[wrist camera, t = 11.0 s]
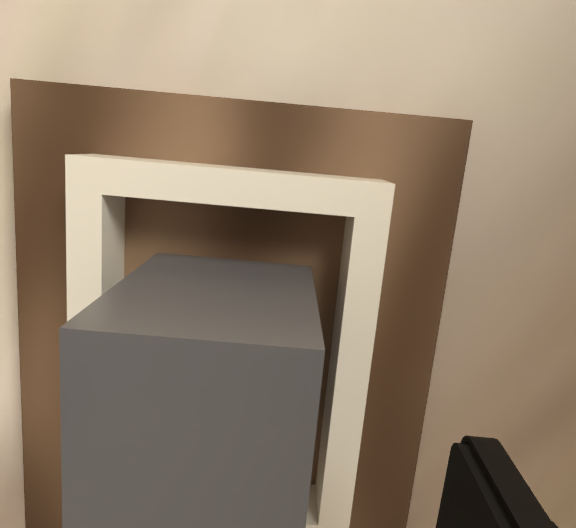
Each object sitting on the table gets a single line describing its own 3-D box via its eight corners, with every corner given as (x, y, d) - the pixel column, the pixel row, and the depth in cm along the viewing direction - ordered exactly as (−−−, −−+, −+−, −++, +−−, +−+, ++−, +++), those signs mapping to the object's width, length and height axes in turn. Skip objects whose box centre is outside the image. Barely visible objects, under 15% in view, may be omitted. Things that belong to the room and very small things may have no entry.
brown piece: (461, 122, 16) (499, 116, 13) (394, 541, 20) (413, 610, 17) (27, 82, 16) (-32, 67, 13) (39, 513, 20) (-6, 577, 17)
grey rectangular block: (311, 265, 16) (325, 350, 9) (291, 461, 18) (291, 654, 11) (157, 252, 16) (59, 328, 9) (151, 450, 18) (64, 637, 11)
